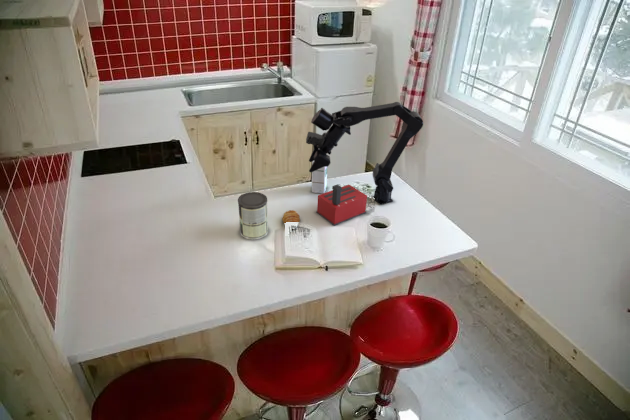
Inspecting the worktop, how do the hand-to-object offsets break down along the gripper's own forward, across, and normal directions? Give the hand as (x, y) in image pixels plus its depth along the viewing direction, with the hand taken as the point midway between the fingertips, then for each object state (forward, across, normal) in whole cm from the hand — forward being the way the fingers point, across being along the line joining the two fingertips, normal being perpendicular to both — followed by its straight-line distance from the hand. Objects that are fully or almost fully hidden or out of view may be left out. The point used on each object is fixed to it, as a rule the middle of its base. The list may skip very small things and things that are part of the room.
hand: (309, 166), depth 176 cm
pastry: (+16, +19, +3) cm, 25 cm away
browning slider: (0, +17, +12) cm, 21 cm away
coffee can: (+24, +25, -9) cm, 36 cm away
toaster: (+6, +11, +19) cm, 22 cm away
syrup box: (+10, -8, +12) cm, 17 cm away
